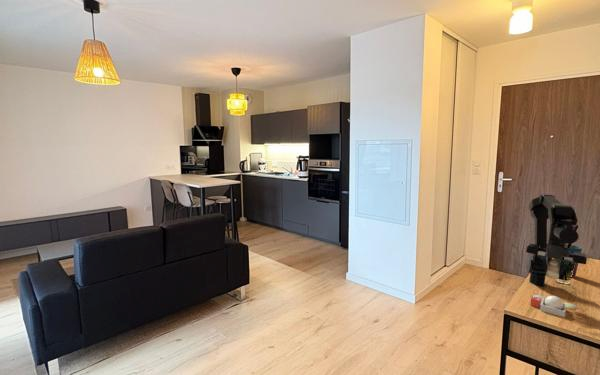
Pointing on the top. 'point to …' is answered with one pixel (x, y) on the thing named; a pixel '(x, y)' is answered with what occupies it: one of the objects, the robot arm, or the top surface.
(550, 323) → the top surface
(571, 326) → the top surface
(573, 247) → the cup
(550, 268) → the pawn
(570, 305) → the game board
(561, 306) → the white ball
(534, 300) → the red die
